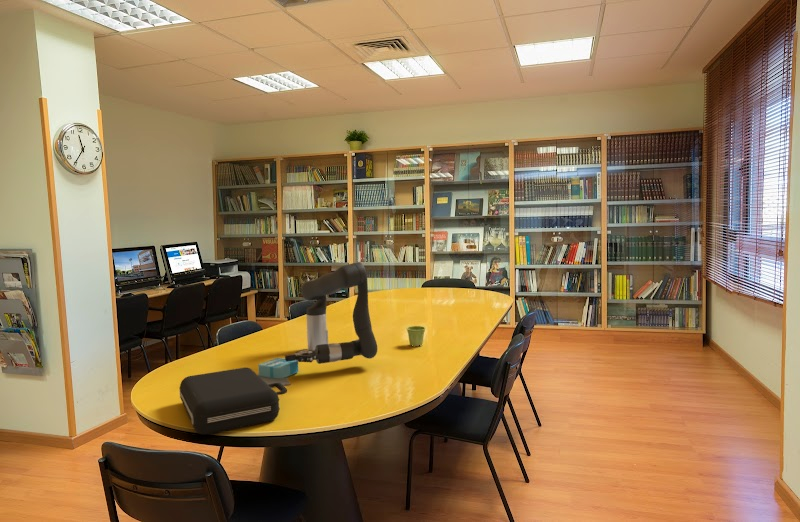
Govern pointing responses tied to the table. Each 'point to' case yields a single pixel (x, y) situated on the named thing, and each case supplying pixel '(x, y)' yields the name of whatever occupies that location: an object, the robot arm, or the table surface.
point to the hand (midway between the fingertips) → (285, 358)
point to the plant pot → (416, 335)
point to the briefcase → (229, 400)
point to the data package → (278, 368)
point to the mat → (275, 380)
